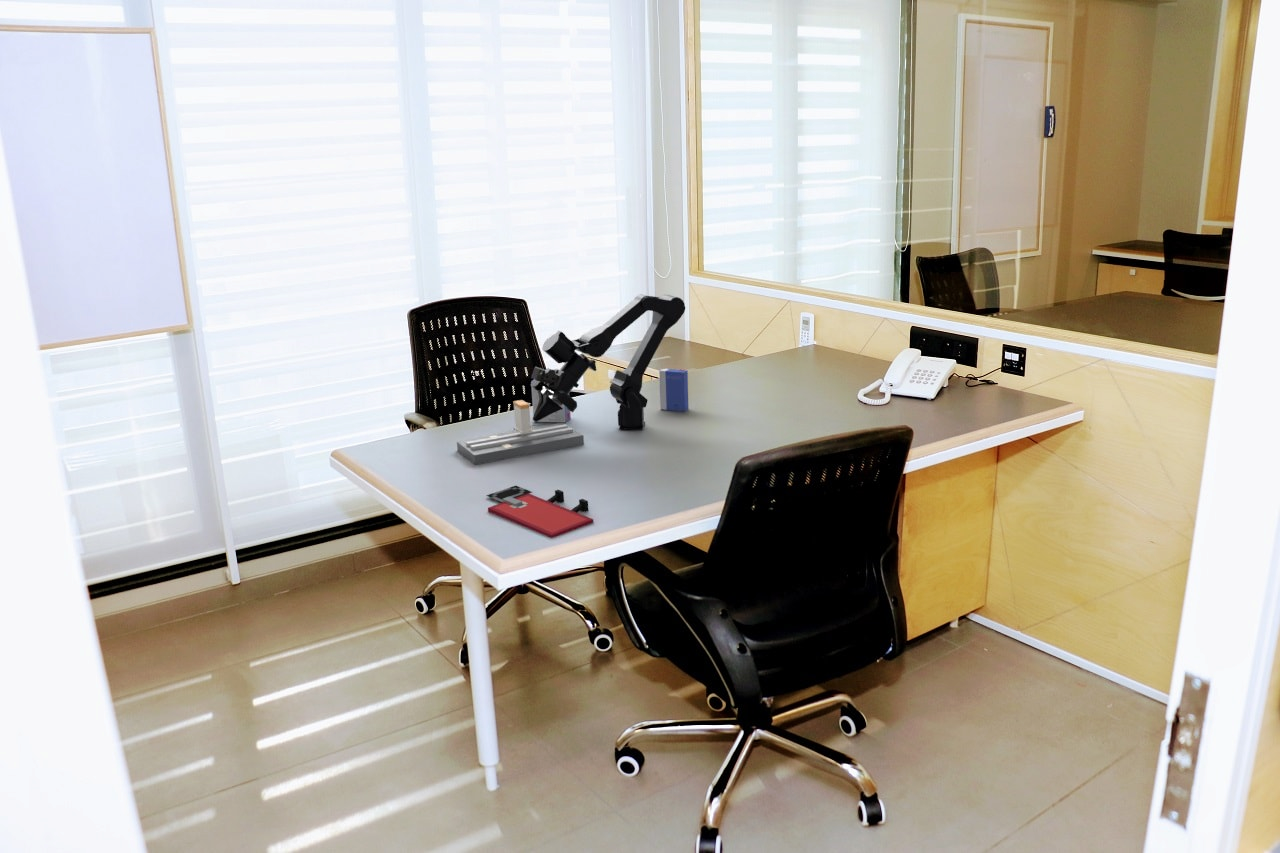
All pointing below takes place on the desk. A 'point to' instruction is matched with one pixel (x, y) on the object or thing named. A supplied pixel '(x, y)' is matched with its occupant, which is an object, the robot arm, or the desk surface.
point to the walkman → (674, 389)
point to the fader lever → (522, 417)
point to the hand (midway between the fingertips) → (534, 420)
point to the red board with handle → (539, 511)
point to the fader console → (519, 443)
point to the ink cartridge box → (554, 417)
